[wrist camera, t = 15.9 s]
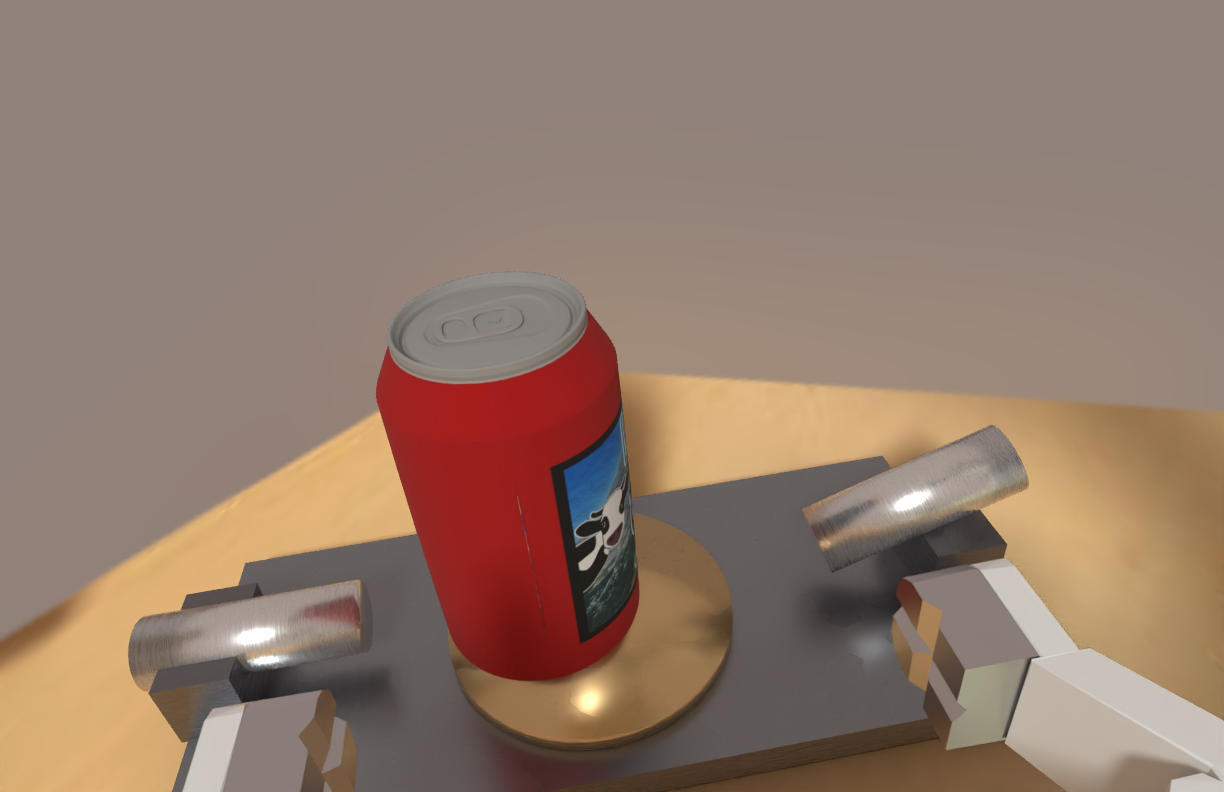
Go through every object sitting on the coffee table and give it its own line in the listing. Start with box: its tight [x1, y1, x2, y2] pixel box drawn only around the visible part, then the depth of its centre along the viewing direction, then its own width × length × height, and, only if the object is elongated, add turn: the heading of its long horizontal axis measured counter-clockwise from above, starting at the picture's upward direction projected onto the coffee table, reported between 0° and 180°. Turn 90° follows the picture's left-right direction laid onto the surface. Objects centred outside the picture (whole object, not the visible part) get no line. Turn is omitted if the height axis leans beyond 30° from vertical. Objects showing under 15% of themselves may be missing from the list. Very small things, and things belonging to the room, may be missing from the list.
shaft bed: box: [128, 425, 1029, 792], centre depth 27 cm, size 30×12×7 cm, turn 99°
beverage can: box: [376, 271, 640, 681], centre depth 25 cm, size 7×7×12 cm
